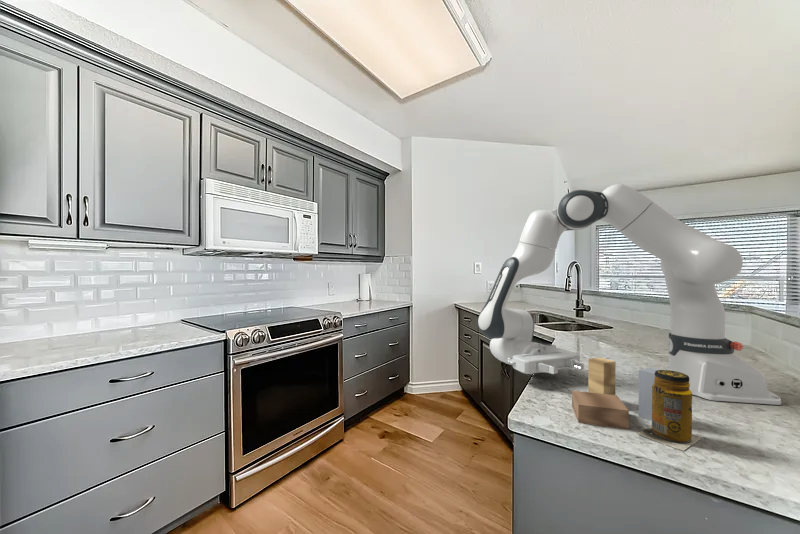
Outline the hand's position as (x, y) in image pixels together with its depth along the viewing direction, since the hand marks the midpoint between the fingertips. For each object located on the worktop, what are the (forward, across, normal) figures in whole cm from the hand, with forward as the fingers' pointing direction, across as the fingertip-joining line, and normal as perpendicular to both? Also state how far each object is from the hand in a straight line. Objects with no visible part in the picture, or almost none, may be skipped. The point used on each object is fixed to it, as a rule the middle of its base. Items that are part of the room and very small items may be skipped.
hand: (569, 368), depth 92 cm
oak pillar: (+9, 0, +6) cm, 11 cm away
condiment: (+26, -4, +6) cm, 27 cm away
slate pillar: (+20, +2, +6) cm, 21 cm away
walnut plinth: (+15, -9, +6) cm, 18 cm away
